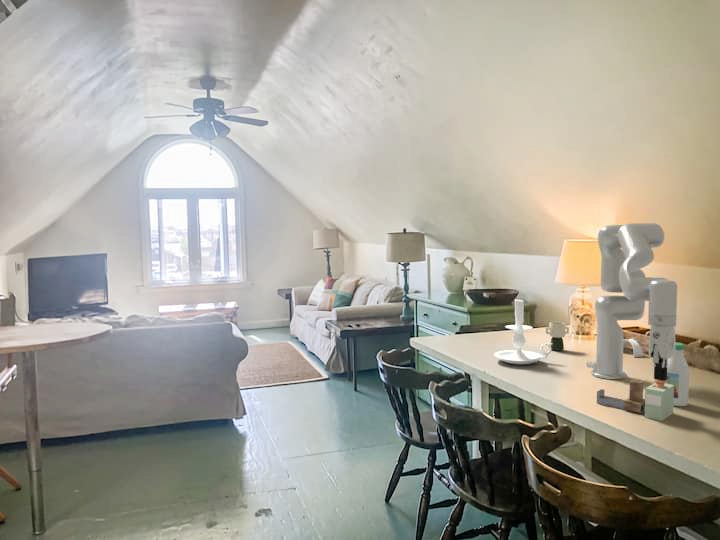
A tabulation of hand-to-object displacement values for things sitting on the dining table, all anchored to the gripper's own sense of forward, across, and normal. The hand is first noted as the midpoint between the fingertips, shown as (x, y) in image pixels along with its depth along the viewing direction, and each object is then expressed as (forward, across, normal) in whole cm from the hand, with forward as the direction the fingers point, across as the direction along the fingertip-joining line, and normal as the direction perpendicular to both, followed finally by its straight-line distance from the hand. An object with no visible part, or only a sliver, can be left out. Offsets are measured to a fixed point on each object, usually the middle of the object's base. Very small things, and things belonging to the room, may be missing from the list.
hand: (660, 379), depth 169 cm
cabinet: (+11, 0, 0) cm, 11 cm away
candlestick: (+11, +32, +65) cm, 73 cm away
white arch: (+11, +84, +43) cm, 94 cm away
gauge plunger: (+7, 0, 0) cm, 7 cm away
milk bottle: (+12, +16, +1) cm, 20 cm away
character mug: (+11, +65, +66) cm, 93 cm away
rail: (+11, 0, +10) cm, 15 cm away
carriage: (+11, 0, +7) cm, 13 cm away
